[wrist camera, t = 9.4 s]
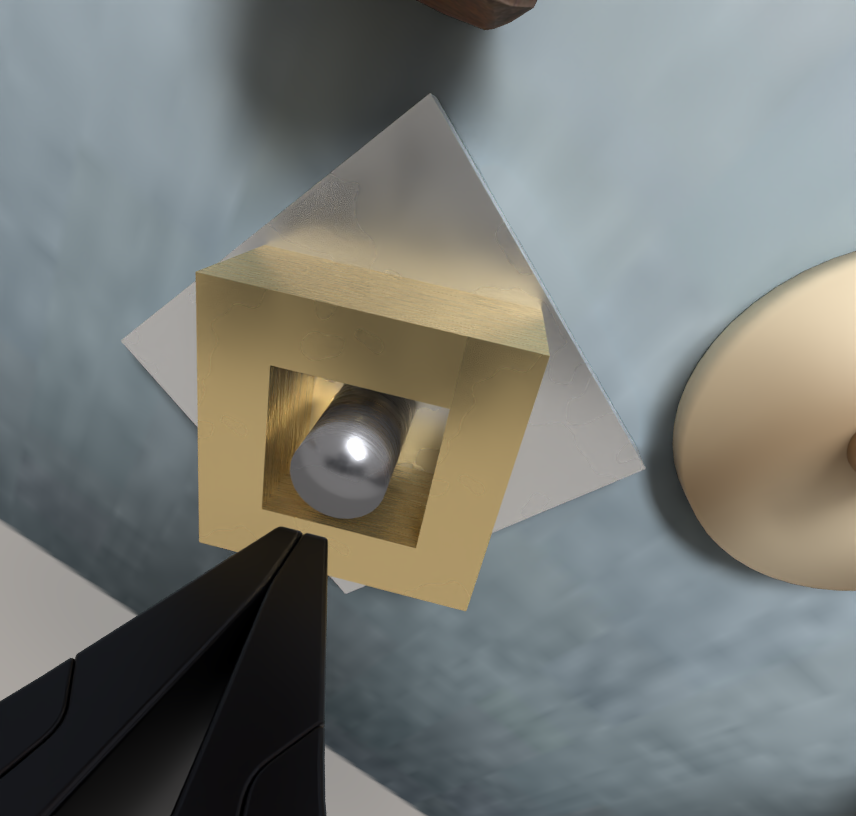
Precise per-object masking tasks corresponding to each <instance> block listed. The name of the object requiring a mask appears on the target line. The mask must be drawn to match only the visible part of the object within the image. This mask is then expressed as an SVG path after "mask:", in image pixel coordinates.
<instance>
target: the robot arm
mask: <svg viewBox="0 0 856 816" xmlns="http://www.w3.org/2000/svg"><path fill="white" fill-rule="evenodd" d="M327 574H328V540H327V538H325V537H322V536H318V535H314V534H310V533H305V534H303V533H302V532H301V531H298V530H295V529H291V528H287V527H282V526H280V527H277V528H275V529H273V530H272V531H270V532H269V533H267V534H266V535H264V536H262V537H261V538H259V539H258V540H256V541H254V542H253V543H251V544H250V545H248V546H247V547H245V548H243V549H242V550H240V551H239V552H237V553H236V554H234V555H232V556H231V557H229V558H228V559H226V560H224V561H223V562H221V563H220V564H218V565H217V566H215V567H213V568H212V569H210V570H209V571H207V572H206V573H204V574H202V575H201V576H199V577H198V578H196V579H195V580H193V581H191V582H190V583H188V584H187V585H185V586H183V587H182V588H180V589H179V590H177V591H176V592H174V593H172V594H171V595H169V596H168V597H166V598H165V599H163V600H161V601H160V602H158V603H157V604H155V605H154V606H152V607H150V608H149V609H147V610H146V611H144V612H142V613H141V614H139V615H138V616H136V617H135V618H133V619H132V620H130V621H128V622H127V623H125V624H124V625H122V626H120V627H119V628H117V629H116V630H114V631H113V632H111V633H109V634H108V635H106V636H105V637H103V638H101V639H100V640H98V641H97V642H96V643H94V644H92V645H91V646H89V647H87V648H86V649H84V650H83V651H81V652H80V653H78V654H77V655H76V657H75V659H73V658H70V659H68V660H66V661H65V662H63V663H62V664H60V665H59V666H57V667H55V668H54V669H52V670H51V671H49V672H47V673H46V674H45V675H43V676H41V677H39V678H38V679H36V680H35V681H33V682H31V683H30V684H28V685H26V686H25V687H23V688H21V689H20V690H18V691H16V692H15V693H13V694H12V695H10V696H8V697H7V698H5V699H3V700H2V701H0V816H326V805H325V764H324V762H325V761H324V760H325V759H324V756H325V752H324V751H325V728H324V724H325V686H326V630H327Z"/></svg>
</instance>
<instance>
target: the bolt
mask: <svg viewBox="0 0 856 816" xmlns="http://www.w3.org/2000/svg"><path fill="white" fill-rule="evenodd" d="M417 1H419V2H421V3H423V4H425V5H427V6H429V7H431V8H433V9H435V10H437V11H439V12H441V13H443V14H445V15H448V16H450V17H453V18H455V19H458V20H460V21H463V22H465V23H468V24H471V25H473V26H476V27H478V28H480V29H483V30H489V29H495V28H498V27H500V26H503V25H505V24H508V23H510V22H512V21H513V20H515V19H516V18H518V17H520V16H521V15H523V14H524V13H526V12H527V11H529V10H531V9H532V8H534V6H535V4H536V2H537V0H417Z"/></svg>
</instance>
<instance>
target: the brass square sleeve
mask: <svg viewBox="0 0 856 816" xmlns="http://www.w3.org/2000/svg"><path fill="white" fill-rule="evenodd" d="M196 336H197V410H198V484H199V542H201V543H205V544H209V545H212V546H216V547H220V548H224V549H228V550H232V551H236V552H239V551H240V550H242V549H243V548H245V547H247V546H248V545H250V544H251V543H253V542H254V541H256V540H258V539H259V538H261V537H262V536H264V535H266V534H267V533H269V532H270V531H272V530H273V529H275V528H277V527H280V526H282V527H287V528H291V529H295V530H298V531H301V532H302V533H303V534H305V533H310V534H314V535H318V536H322V537H325V538H327V540H328V574H327V575H328V576H332V577H336V578H340V579H344V580H347V581H351V582H355V583H359V584H363V585H367V586H371V587H374V588H378V589H382V590H386V591H390V592H394V593H398V594H401V595H405V596H409V597H413V598H417V599H421V600H424V601H428V602H432V603H436V604H440V605H444V606H448V607H451V608H455V609H459V610H463V611H466V610H467V607H468V604H469V601H470V598H471V595H472V592H473V589H474V586H475V583H476V580H477V577H478V574H479V571H480V568H481V565H482V561H483V558H484V555H485V552H486V549H487V546H488V543H489V540H490V537H491V534H492V531H493V528H494V525H495V522H496V519H497V516H498V513H499V510H500V507H501V504H502V500H503V497H504V494H505V491H506V488H507V485H508V482H509V479H510V476H511V473H512V470H513V467H514V464H515V461H516V458H517V455H518V452H519V449H520V446H521V443H522V439H523V436H524V433H525V430H526V427H527V424H528V421H529V418H530V415H531V412H532V409H533V406H534V403H535V400H536V397H537V394H538V391H539V388H540V385H541V382H542V379H543V375H544V372H545V369H546V366H547V363H548V360H549V357H550V354H549V348H548V342H547V336H546V330H545V325H544V319H543V313H542V309H537V308H533V307H529V306H525V305H520V304H516V303H512V302H507V301H503V300H499V299H495V298H490V297H486V296H482V295H478V294H473V293H469V292H465V291H460V290H456V289H452V288H448V287H443V286H439V285H435V284H430V283H426V282H422V281H418V280H413V279H409V278H405V277H401V276H396V275H392V274H388V273H383V272H379V271H375V270H371V269H366V268H362V267H358V266H353V265H349V264H345V263H341V262H336V261H332V260H328V259H323V258H319V257H315V256H311V255H306V254H302V253H298V252H294V251H289V250H285V249H281V248H276V247H272V246H268V245H263V246H260V247H258V248H255V249H253V250H250V251H248V252H245V253H243V254H240V255H237V256H235V257H232V258H230V259H227V260H225V261H222V262H220V263H217V264H214V265H212V266H209V267H207V268H204V269H202V270H199V271H197V272H196ZM315 376H316V377H320V378H324V379H329V380H333V381H337V382H341V383H345V384H349V385H353V386H357V387H361V388H366V389H370V390H374V391H378V392H382V393H386V394H390V395H394V396H398V397H403V398H407V399H411V400H415V401H419V402H423V403H427V404H431V405H435V406H439V407H444V408H448V409H450V411H449V415H448V419H447V423H446V427H445V431H444V435H443V439H442V443H441V448H440V452H439V456H438V460H437V464H436V468H435V472H434V474H431V473H427V472H423V471H419V470H415V469H411V468H407V467H403V466H399V465H396V466H395V468H394V471H393V474H392V477H391V479H390V482H389V485H388V487H387V490H386V493H385V495H384V498H383V500H382V501H381V503H380V504H379V506H378V507H377V508H376V509H374V510H373V511H372V512H370V513H368V514H367V515H364V516H361V517H358V518H351V519H343V518H335V517H331V516H328V515H325V514H323V513H320V512H319V511H317V510H315V509H314V508H312V507H311V506H309V505H308V504H307V503H306V502H305V501H304V500H303V499H302V498H301V497H300V496H299V494H298V493H297V491H296V490H295V488H294V485H293V483H292V480H291V475H290V464H291V460H292V457H293V455H294V453H295V451H296V450H297V449H298V447H299V446H300V444H301V443H302V442H303V440H304V439H305V437H306V436H307V435H308V433H309V427H310V417H311V407H312V397H313V388H314V378H315Z"/></svg>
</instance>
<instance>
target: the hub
mask: <svg viewBox="0 0 856 816" xmlns="http://www.w3.org/2000/svg"><path fill="white" fill-rule="evenodd" d="M263 245H268V246H272V247H276V248H281V249H285V250H289V251H294V252H298V253H302V254H306V255H311V256H315V257H319V258H323V259H328V260H332V261H336V262H341V263H345V264H349V265H353V266H358V267H362V268H366V269H371V270H375V271H379V272H383V273H388V274H392V275H396V276H401V277H405V278H409V279H413V280H418V281H422V282H426V283H430V284H435V285H439V286H443V287H448V288H452V289H456V290H460V291H465V292H469V293H473V294H478V295H482V296H486V297H490V298H495V299H499V300H503V301H507V302H512V303H516V304H520V305H525V306H529V307H533V308H537V309H542V313H543V319H544V325H545V330H546V336H547V342H548V348H549V354H550V357H549V360H548V363H547V366H546V369H545V372H544V375H543V379H542V382H541V385H540V388H539V391H538V394H537V397H536V400H535V403H534V406H533V409H532V412H531V415H530V418H529V421H528V424H527V427H526V430H525V433H524V436H523V439H522V443H521V446H520V449H519V452H518V455H517V458H516V461H515V464H514V467H513V470H512V473H511V476H510V479H509V482H508V485H507V488H506V491H505V494H504V497H503V500H502V504H501V507H500V510H499V513H498V516H497V519H496V522H495V525H494V528H493V531H492V533H493V532H495V531H498V530H500V529H503V528H505V527H507V526H510V525H512V524H515V523H517V522H519V521H522V520H524V519H527V518H529V517H531V516H534V515H536V514H539V513H541V512H543V511H546V510H548V509H551V508H553V507H555V506H558V505H560V504H563V503H565V502H567V501H570V500H572V499H575V498H577V497H579V496H582V495H584V494H587V493H589V492H591V491H594V490H596V489H599V488H601V487H603V486H606V485H608V484H611V483H613V482H615V481H618V480H620V479H623V478H625V477H627V476H630V475H632V474H635V473H637V472H639V471H642V470H644V469H646V468H645V466H644V463H643V461H642V458H641V456H640V453H639V451H638V449H637V447H636V445H635V443H634V442H633V440H632V438H631V436H630V435H629V433H628V431H627V429H626V428H625V426H624V424H623V422H622V421H621V419H620V417H619V415H618V414H617V412H616V410H615V408H614V407H613V405H612V403H611V401H610V400H609V398H608V396H607V394H606V393H605V391H604V389H603V387H602V386H601V384H600V382H599V380H598V379H597V377H596V375H595V373H594V372H593V370H592V368H591V366H590V365H589V363H588V361H587V359H586V358H585V356H584V354H583V352H582V351H581V349H580V347H579V345H578V344H577V342H576V340H575V338H574V337H573V335H572V333H571V331H570V330H569V328H568V326H567V324H566V323H565V321H564V319H563V317H562V316H561V314H560V312H559V310H558V309H557V307H556V305H555V303H554V302H553V300H552V298H551V296H550V295H549V293H548V291H547V289H546V288H545V286H544V284H543V282H542V281H541V279H540V277H539V275H538V274H537V272H536V270H535V268H534V267H533V265H532V263H531V261H530V260H529V258H528V256H527V254H526V253H525V251H524V249H523V247H522V246H521V244H520V242H519V240H518V239H517V237H516V235H515V233H514V232H513V230H512V228H511V227H510V225H509V223H508V221H507V220H506V218H505V216H504V214H503V213H502V211H501V209H500V207H499V206H498V204H497V202H496V200H495V199H494V197H493V195H492V193H491V192H490V190H489V188H488V186H487V185H486V183H485V181H484V179H483V178H482V176H481V174H480V172H479V171H478V169H477V167H476V165H475V164H474V162H473V160H472V158H471V157H470V155H469V153H468V151H467V150H466V148H465V146H464V144H463V143H462V141H461V139H460V137H459V136H458V134H457V132H456V130H455V129H454V127H453V125H452V123H451V122H450V120H449V118H448V116H447V115H446V113H445V111H444V109H443V108H442V106H441V104H440V102H439V101H438V99H437V97H435V96H434V95H432V94H431V93H429V94H428V95H427V96H426V97H424V98H423V99H422V100H421V101H419V102H418V103H417V104H416V105H414V106H413V107H412V108H411V109H409V110H408V111H407V112H406V113H404V114H403V115H402V116H401V117H399V118H398V119H397V120H396V121H394V122H393V123H392V124H391V125H389V126H388V127H387V128H386V129H384V130H383V131H382V132H381V133H380V134H378V135H377V136H376V137H375V138H373V139H372V140H371V141H370V142H368V143H367V144H366V145H365V146H363V147H362V148H361V149H360V150H358V151H357V152H356V153H355V154H353V155H352V156H351V157H350V158H348V159H347V160H346V161H345V162H343V163H342V164H341V165H340V166H338V167H337V168H336V169H335V170H333V171H332V172H331V173H330V174H328V175H327V176H326V177H325V178H323V179H322V180H321V181H320V182H318V183H317V184H316V185H315V186H313V187H312V188H311V189H310V190H308V191H307V192H306V193H305V194H303V195H302V196H301V197H300V198H298V199H297V200H296V201H295V202H293V203H292V204H291V205H290V206H288V207H287V208H286V209H285V210H283V211H282V212H281V213H280V214H278V215H277V216H276V217H275V218H273V219H272V220H271V221H270V222H268V223H267V224H266V225H265V226H263V227H262V228H261V229H260V230H258V231H257V232H256V233H255V234H253V235H252V236H251V237H250V238H248V239H247V240H246V241H245V242H243V243H242V244H241V245H240V246H238V247H237V248H236V249H235V250H233V251H232V252H231V253H230V254H228V255H227V256H226V257H225V258H223V259H222V260H221V261H220V262H222V261H225V260H227V259H230V258H232V257H235V256H237V255H240V254H243V253H245V252H248V251H250V250H253V249H255V248H258V247H260V246H263ZM220 262H218V263H220ZM121 342H122V343H123V344H124V345H125V346H126V347H127V348H128V349H129V351H130V352H131V353H132V354H133V355H134V356H135V357H136V358H137V360H138V361H139V362H140V363H141V364H142V365H143V366H144V367H145V369H146V370H147V371H148V372H149V373H150V374H151V375H152V376H153V378H154V379H155V380H156V381H157V382H158V383H159V384H160V385H161V387H162V388H163V389H164V390H165V391H166V392H167V393H168V394H169V396H170V397H171V398H172V399H173V400H174V401H175V402H176V404H177V405H178V406H179V407H180V408H181V409H182V410H183V411H184V413H185V414H186V415H187V416H188V417H189V418H190V419H191V420H192V422H193V423H194V424H195V425H196V426H197V427H198V410H197V336H196V281H195V282H194V283H192V284H191V285H190V286H189V287H187V288H186V289H185V290H184V291H182V292H181V293H180V294H179V295H177V296H176V297H175V298H174V299H172V300H171V301H170V302H169V303H167V304H166V305H165V306H164V307H162V308H161V309H160V310H159V311H157V312H156V313H155V314H154V315H152V316H151V317H150V318H149V319H147V320H146V321H145V322H144V323H142V324H141V325H140V326H139V327H137V328H136V329H135V330H134V331H132V332H131V333H130V334H129V335H127V336H126V337H125V338H124V339H122V340H121ZM449 411H450V409H448V408H444V407H439V406H435V405H431V404H427V403H423V402H419V401H415V400H411V399H407V398H403V397H398V396H394V395H390V394H386V393H382V392H378V391H374V390H370V389H366V388H361V387H357V386H353V385H349V384H345V383H341V382H337V381H333V380H329V379H324V378H320V377H316V376H315V378H314V388H313V397H312V407H311V417H310V427H309V433H308V435H307V436H306V437H305V439H304V440H303V442H302V443H301V444H300V446H299V447H298V449H297V450H296V451H295V453H294V455H293V457H292V460H291V464H290V475H291V480H292V483H293V485H294V488H295V490H296V491H297V493H298V494H299V496H300V497H301V498H302V499H303V500H304V501H305V502H306V503H307V504H308V505H309V506H311V507H312V508H314V509H315V510H317V511H319V512H320V513H323V514H325V515H328V516H331V517H335V518H343V519H351V518H358V517H361V516H364V515H367V514H368V513H370V512H372V511H373V510H374V509H376V508H377V507H378V506H379V504H380V503H381V501H382V500H383V498H384V495H385V493H386V490H387V487H388V485H389V482H390V479H391V477H392V474H393V471H394V468H395V466H396V465H399V466H403V467H407V468H411V469H415V470H419V471H423V472H427V473H431V474H434V472H435V468H436V464H437V460H438V456H439V452H440V448H441V443H442V439H443V435H444V431H445V427H446V423H447V419H448V415H449ZM330 577H331V578H332V579H333V580H334V581H335V583H336V584H337V585H338V586H339V587H340V588H341V589H342V591H343V592H344V593H345V594H347V593H349V592H352V591H354V590H356V589H359V588H361V587H363V586H366V585H363V584H359V583H355V582H351V581H347V580H344V579H340V578H336V577H332V576H330Z"/></svg>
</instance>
